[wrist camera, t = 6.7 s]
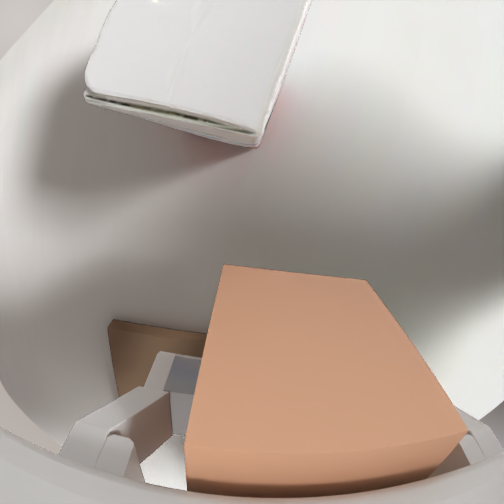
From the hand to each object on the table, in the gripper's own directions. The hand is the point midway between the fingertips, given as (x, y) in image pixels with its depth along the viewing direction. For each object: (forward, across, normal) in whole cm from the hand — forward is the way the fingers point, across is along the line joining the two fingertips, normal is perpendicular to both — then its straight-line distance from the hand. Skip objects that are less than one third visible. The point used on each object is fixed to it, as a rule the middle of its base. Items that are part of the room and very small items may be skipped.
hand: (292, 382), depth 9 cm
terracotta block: (+3, 0, 0) cm, 3 cm away
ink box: (+12, +3, -11) cm, 16 cm away
